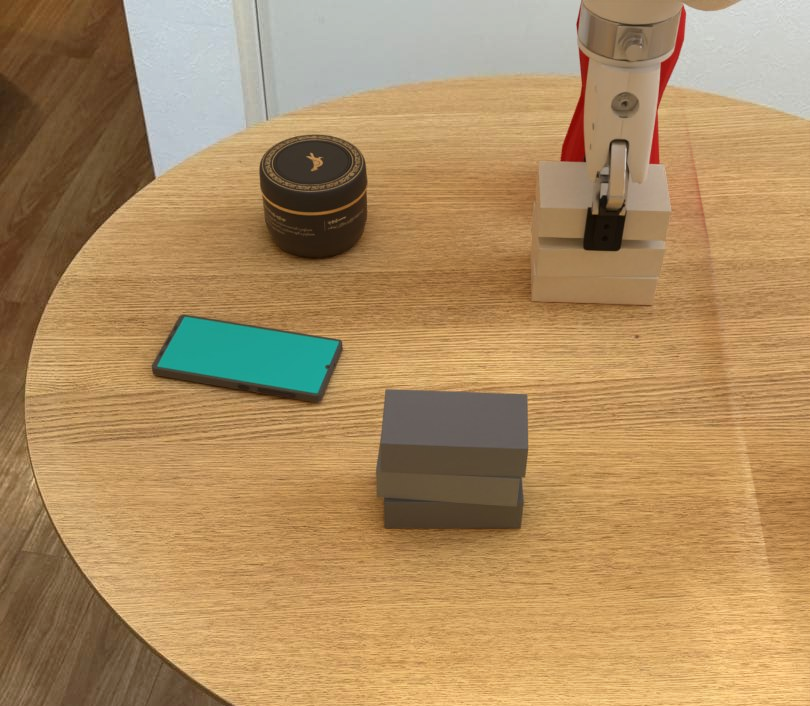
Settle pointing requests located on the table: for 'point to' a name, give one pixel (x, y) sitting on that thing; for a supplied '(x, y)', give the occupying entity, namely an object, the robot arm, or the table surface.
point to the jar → (314, 195)
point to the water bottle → (575, 135)
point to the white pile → (593, 270)
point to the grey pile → (452, 459)
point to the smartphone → (248, 358)
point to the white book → (572, 195)
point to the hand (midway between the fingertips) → (599, 220)
